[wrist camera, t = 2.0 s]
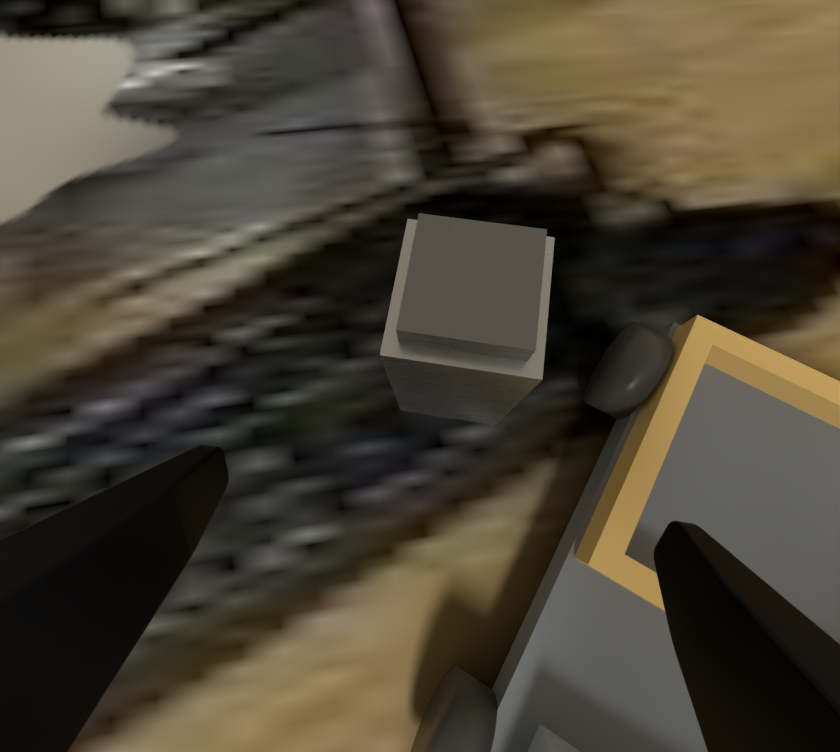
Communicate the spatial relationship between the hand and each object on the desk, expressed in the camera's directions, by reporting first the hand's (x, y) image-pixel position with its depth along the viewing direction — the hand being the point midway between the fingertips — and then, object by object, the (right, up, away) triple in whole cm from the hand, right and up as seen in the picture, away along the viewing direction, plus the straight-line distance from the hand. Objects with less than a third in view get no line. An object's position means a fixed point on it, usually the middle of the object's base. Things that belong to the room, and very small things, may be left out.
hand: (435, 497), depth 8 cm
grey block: (+2, +3, +13) cm, 14 cm away
